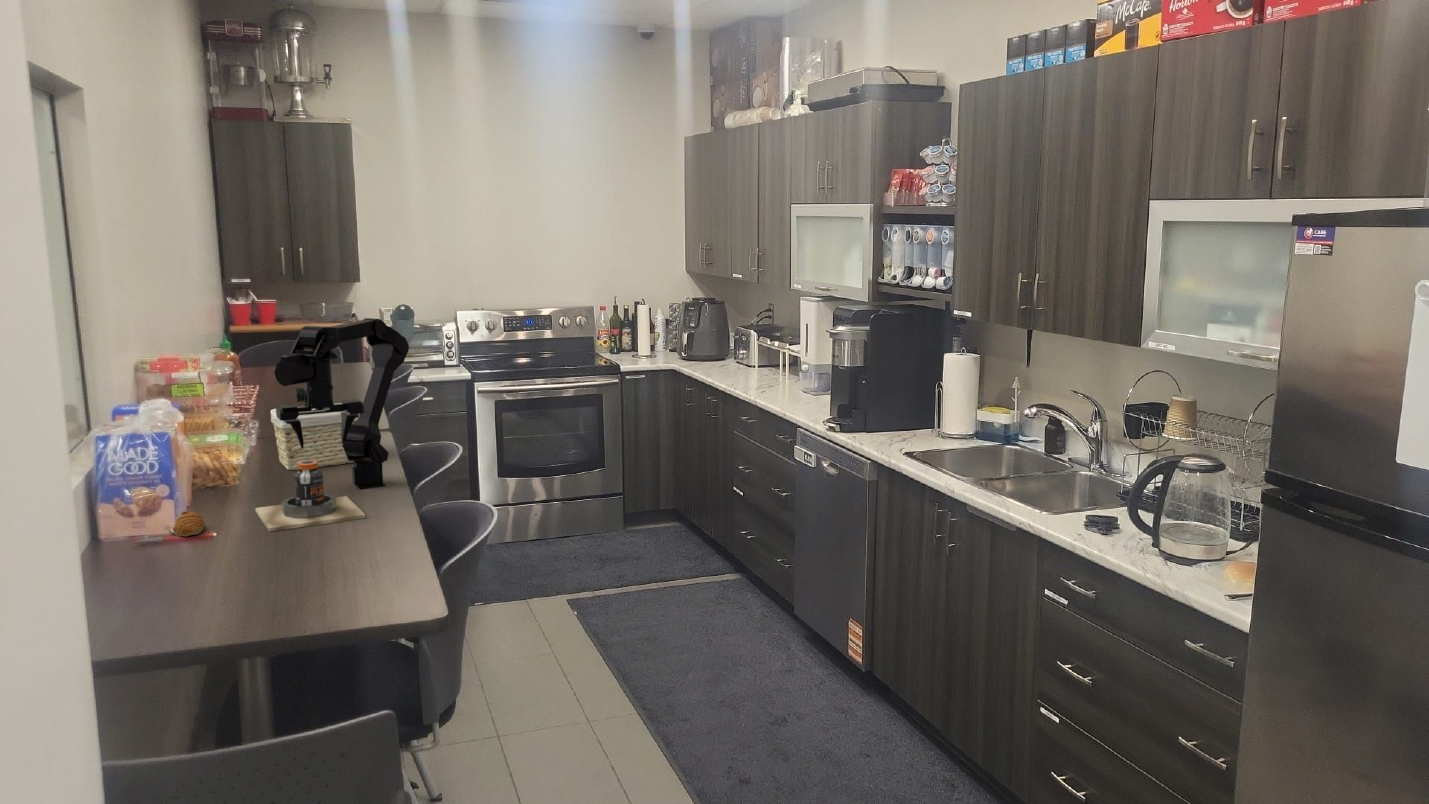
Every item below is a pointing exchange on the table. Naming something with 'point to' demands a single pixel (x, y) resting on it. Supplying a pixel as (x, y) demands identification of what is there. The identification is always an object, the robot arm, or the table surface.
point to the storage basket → (311, 440)
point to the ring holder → (308, 513)
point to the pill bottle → (308, 484)
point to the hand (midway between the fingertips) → (322, 445)
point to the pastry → (188, 524)
